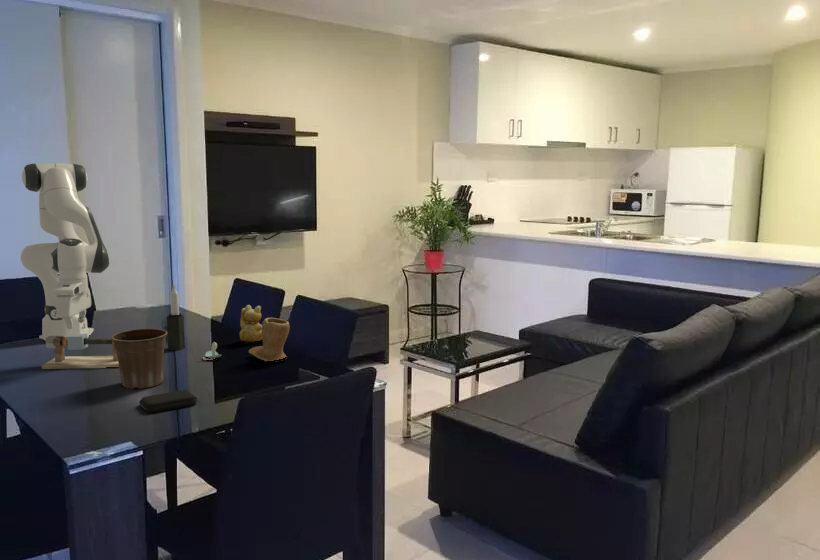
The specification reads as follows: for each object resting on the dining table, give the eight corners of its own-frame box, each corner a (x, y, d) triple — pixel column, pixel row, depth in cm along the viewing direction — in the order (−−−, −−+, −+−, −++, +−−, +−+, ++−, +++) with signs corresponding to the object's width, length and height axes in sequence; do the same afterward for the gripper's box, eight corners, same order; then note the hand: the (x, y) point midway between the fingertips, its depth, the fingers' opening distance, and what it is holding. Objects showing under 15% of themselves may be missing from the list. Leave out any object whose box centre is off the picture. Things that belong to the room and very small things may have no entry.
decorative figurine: (266, 340, 267) (265, 304, 265) (259, 345, 259) (258, 308, 257) (243, 339, 268) (242, 303, 266) (235, 344, 260) (234, 307, 258)
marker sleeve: (73, 346, 232) (72, 333, 232) (88, 346, 233) (87, 333, 232) (67, 349, 228) (67, 336, 227) (82, 349, 228) (82, 336, 227)
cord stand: (57, 359, 236) (55, 333, 235) (132, 358, 238) (130, 332, 237) (41, 369, 224) (39, 340, 223) (120, 367, 226) (119, 339, 225)
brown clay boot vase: (295, 360, 237) (294, 320, 235) (264, 366, 230) (263, 324, 228) (277, 352, 249) (276, 313, 247) (247, 356, 242) (246, 316, 240)
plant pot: (135, 395, 198) (132, 342, 195) (103, 386, 206) (100, 335, 204) (180, 381, 211) (178, 332, 209) (148, 373, 220) (145, 326, 218)
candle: (179, 350, 250) (176, 285, 247) (166, 349, 251) (163, 285, 248) (186, 347, 255) (183, 283, 251) (174, 346, 256) (171, 283, 252)
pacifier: (206, 363, 234) (222, 360, 238) (205, 346, 233) (221, 343, 236) (200, 358, 240) (216, 355, 243) (198, 342, 239) (215, 339, 242)
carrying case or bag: (188, 396, 198) (136, 405, 190) (187, 386, 198) (136, 395, 189) (199, 405, 190) (146, 416, 181) (199, 395, 189) (146, 405, 181)
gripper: (76, 281, 237) (79, 318, 239) (51, 291, 217) (53, 332, 219) (94, 281, 238) (97, 318, 240) (70, 291, 217) (73, 332, 220)
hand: (76, 325), depth 229 cm, fingers open, 8 cm apart
